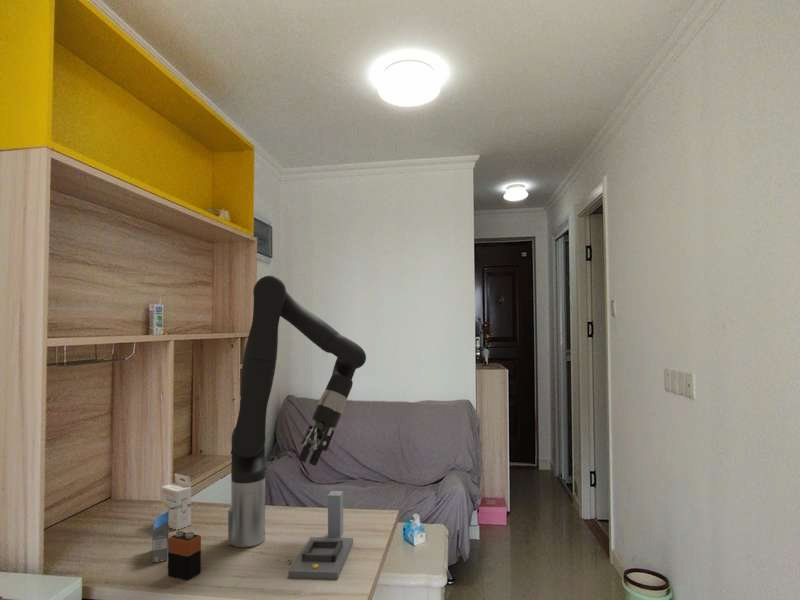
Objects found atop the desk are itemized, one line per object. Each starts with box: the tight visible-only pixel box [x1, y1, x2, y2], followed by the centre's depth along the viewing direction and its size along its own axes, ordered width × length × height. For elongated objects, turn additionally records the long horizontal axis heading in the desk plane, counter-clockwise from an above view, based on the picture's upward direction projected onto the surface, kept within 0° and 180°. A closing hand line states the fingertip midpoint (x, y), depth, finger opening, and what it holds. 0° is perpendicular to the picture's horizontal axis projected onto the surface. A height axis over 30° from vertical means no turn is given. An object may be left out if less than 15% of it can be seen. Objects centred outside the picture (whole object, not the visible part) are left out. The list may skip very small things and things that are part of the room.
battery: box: [167, 530, 202, 581], centre depth 123 cm, size 4×7×10 cm, turn 66°
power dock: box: [287, 536, 354, 580], centre depth 130 cm, size 12×20×3 cm, turn 175°
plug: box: [327, 490, 344, 538], centre depth 145 cm, size 4×4×12 cm
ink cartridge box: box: [160, 473, 192, 531], centre depth 155 cm, size 9×5×15 cm, turn 58°
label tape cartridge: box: [151, 502, 170, 563], centre depth 134 cm, size 9×4×12 cm, turn 23°
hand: (306, 462), depth 141 cm, fingers open, 8 cm apart
